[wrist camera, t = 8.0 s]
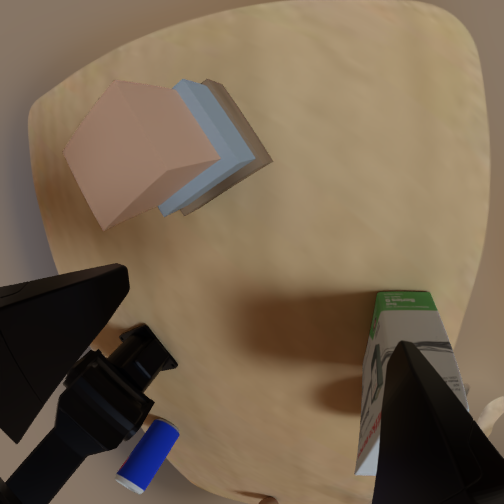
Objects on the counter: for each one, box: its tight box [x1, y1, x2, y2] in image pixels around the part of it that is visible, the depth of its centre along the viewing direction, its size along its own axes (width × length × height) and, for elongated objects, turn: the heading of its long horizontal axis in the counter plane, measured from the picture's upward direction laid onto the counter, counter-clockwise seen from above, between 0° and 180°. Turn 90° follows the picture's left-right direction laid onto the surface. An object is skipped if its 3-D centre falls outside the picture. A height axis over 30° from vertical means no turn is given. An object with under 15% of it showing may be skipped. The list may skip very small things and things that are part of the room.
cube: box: [63, 80, 221, 231], centre depth 13 cm, size 5×5×5 cm
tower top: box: [158, 79, 256, 217], centre depth 16 cm, size 6×6×3 cm
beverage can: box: [115, 419, 179, 494], centre depth 34 cm, size 5×5×15 cm
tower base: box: [180, 79, 273, 216], centre depth 19 cm, size 7×7×3 cm
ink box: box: [354, 292, 469, 476], centre depth 16 cm, size 9×5×12 cm, turn 5°
